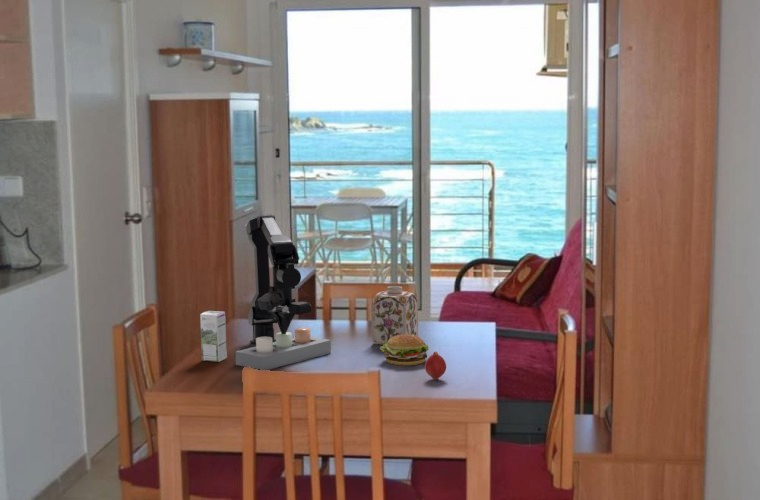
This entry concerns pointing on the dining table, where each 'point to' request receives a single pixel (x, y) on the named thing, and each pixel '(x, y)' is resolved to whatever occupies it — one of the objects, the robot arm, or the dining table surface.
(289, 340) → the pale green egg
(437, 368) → the onion
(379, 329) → the decorative jar
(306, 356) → the grey holder tray
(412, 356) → the food
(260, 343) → the cream rounded tapered piece
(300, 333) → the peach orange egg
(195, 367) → the dining table surface
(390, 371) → the dining table surface
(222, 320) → the syrup box
